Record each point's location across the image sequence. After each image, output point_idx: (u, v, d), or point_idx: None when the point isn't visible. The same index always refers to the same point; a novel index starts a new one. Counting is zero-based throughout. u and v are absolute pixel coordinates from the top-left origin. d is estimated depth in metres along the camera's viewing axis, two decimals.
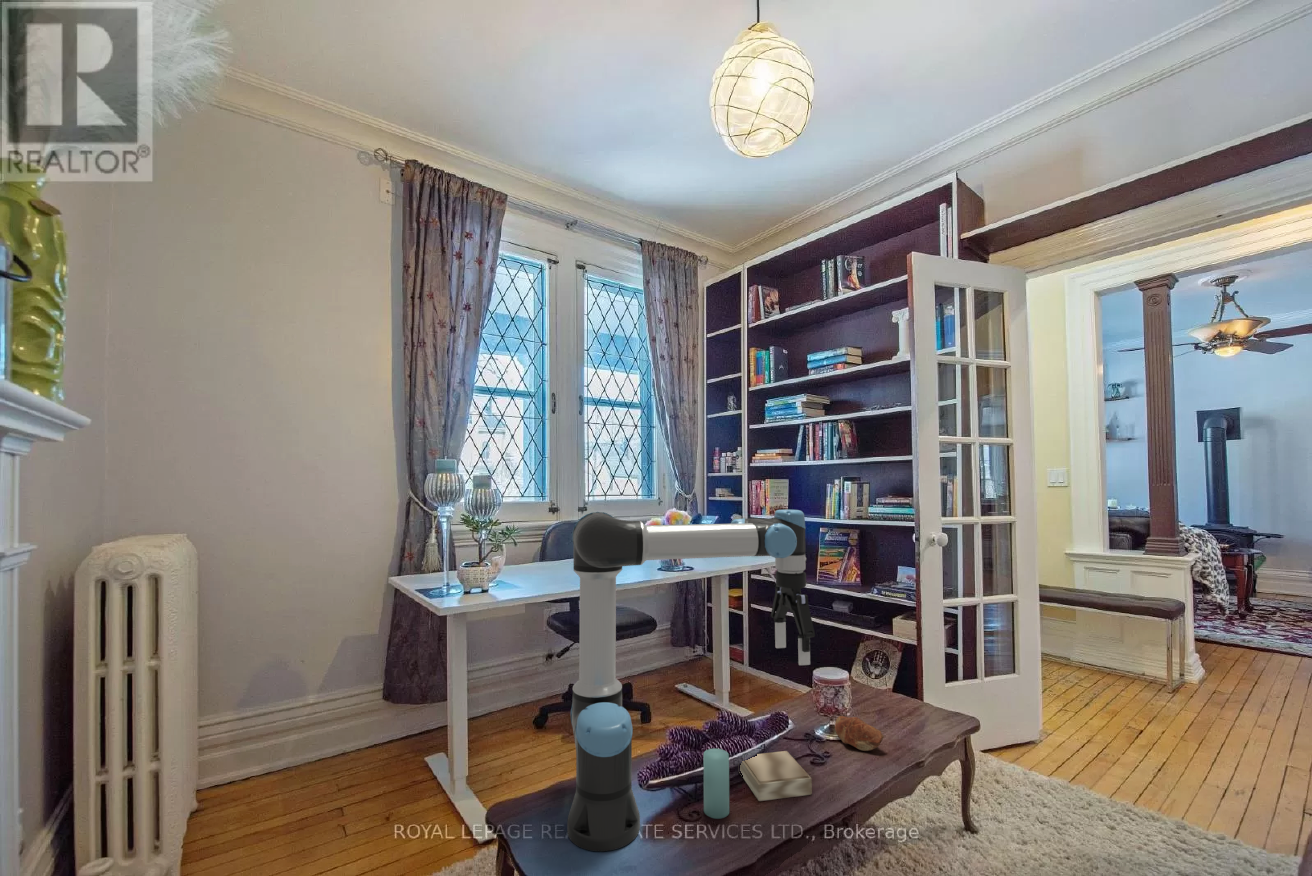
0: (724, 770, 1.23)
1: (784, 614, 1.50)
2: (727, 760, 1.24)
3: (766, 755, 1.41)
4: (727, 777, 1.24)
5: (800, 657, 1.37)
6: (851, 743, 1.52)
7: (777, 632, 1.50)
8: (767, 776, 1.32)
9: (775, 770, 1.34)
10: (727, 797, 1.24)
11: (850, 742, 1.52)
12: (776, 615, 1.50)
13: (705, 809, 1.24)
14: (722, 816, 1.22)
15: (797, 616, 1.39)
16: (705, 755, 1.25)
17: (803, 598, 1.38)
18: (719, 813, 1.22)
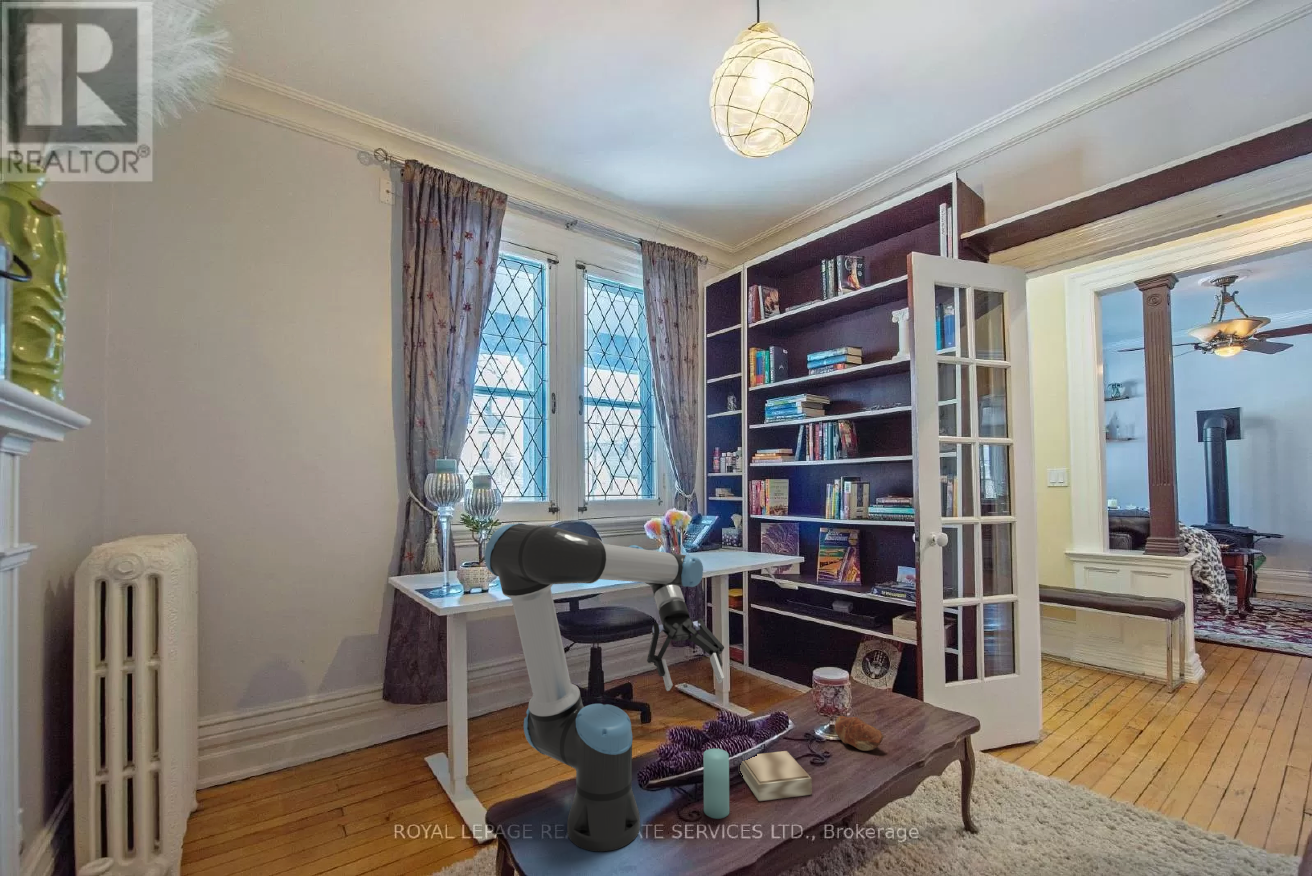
0: (724, 770, 1.23)
1: None
2: (727, 760, 1.24)
3: (766, 755, 1.41)
4: (727, 777, 1.24)
5: None
6: (851, 743, 1.52)
7: None
8: (767, 776, 1.32)
9: (775, 770, 1.34)
10: (727, 797, 1.24)
11: (850, 742, 1.52)
12: (662, 651, 1.39)
13: (705, 809, 1.24)
14: (722, 816, 1.22)
15: None
16: (705, 755, 1.25)
17: None
18: (719, 813, 1.22)
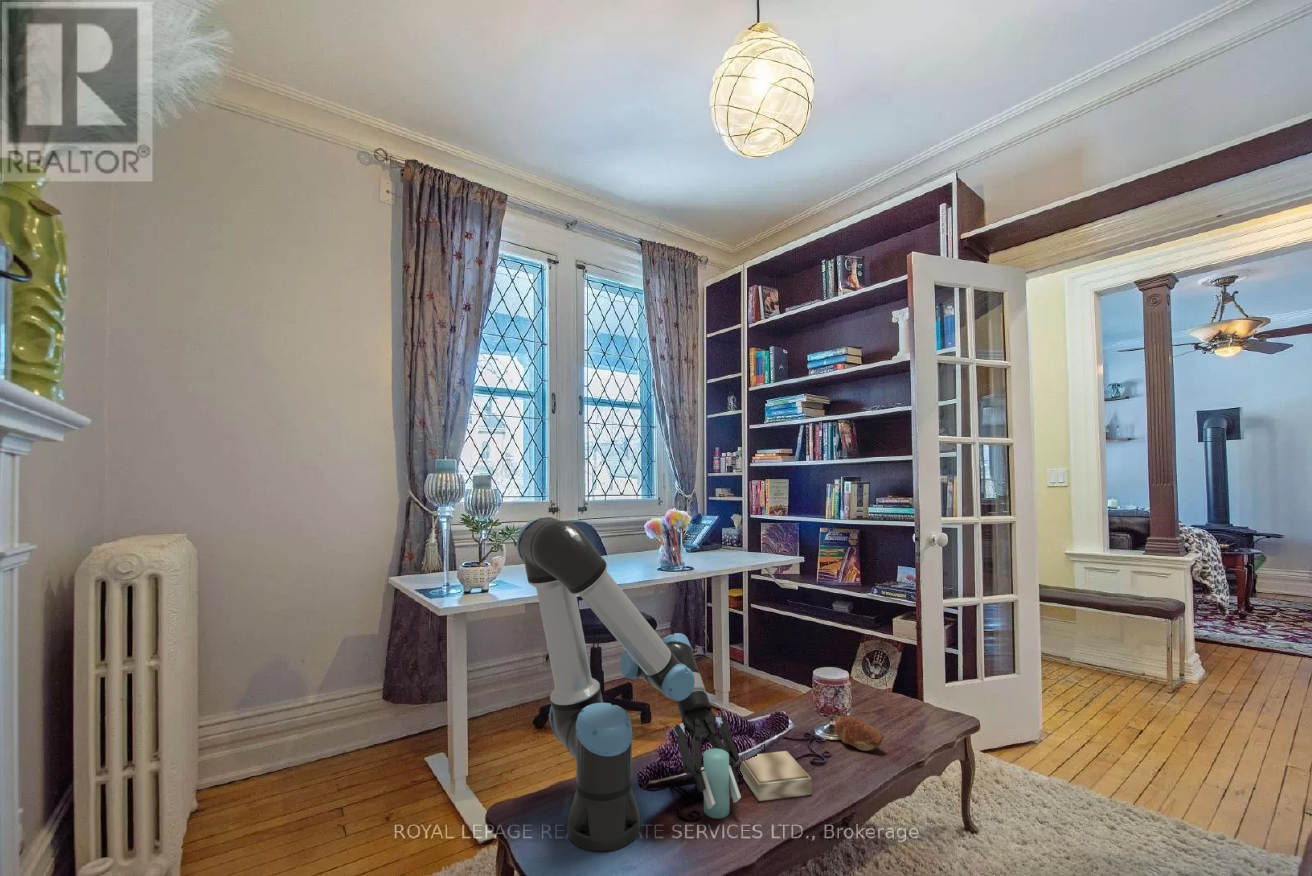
0: (724, 770, 1.23)
1: None
2: (727, 760, 1.24)
3: (766, 755, 1.41)
4: (727, 777, 1.24)
5: None
6: (851, 743, 1.52)
7: None
8: (767, 776, 1.32)
9: (775, 770, 1.34)
10: (727, 797, 1.24)
11: (850, 742, 1.52)
12: (698, 760, 1.26)
13: (705, 809, 1.24)
14: (722, 816, 1.22)
15: None
16: (705, 755, 1.25)
17: None
18: (719, 813, 1.22)
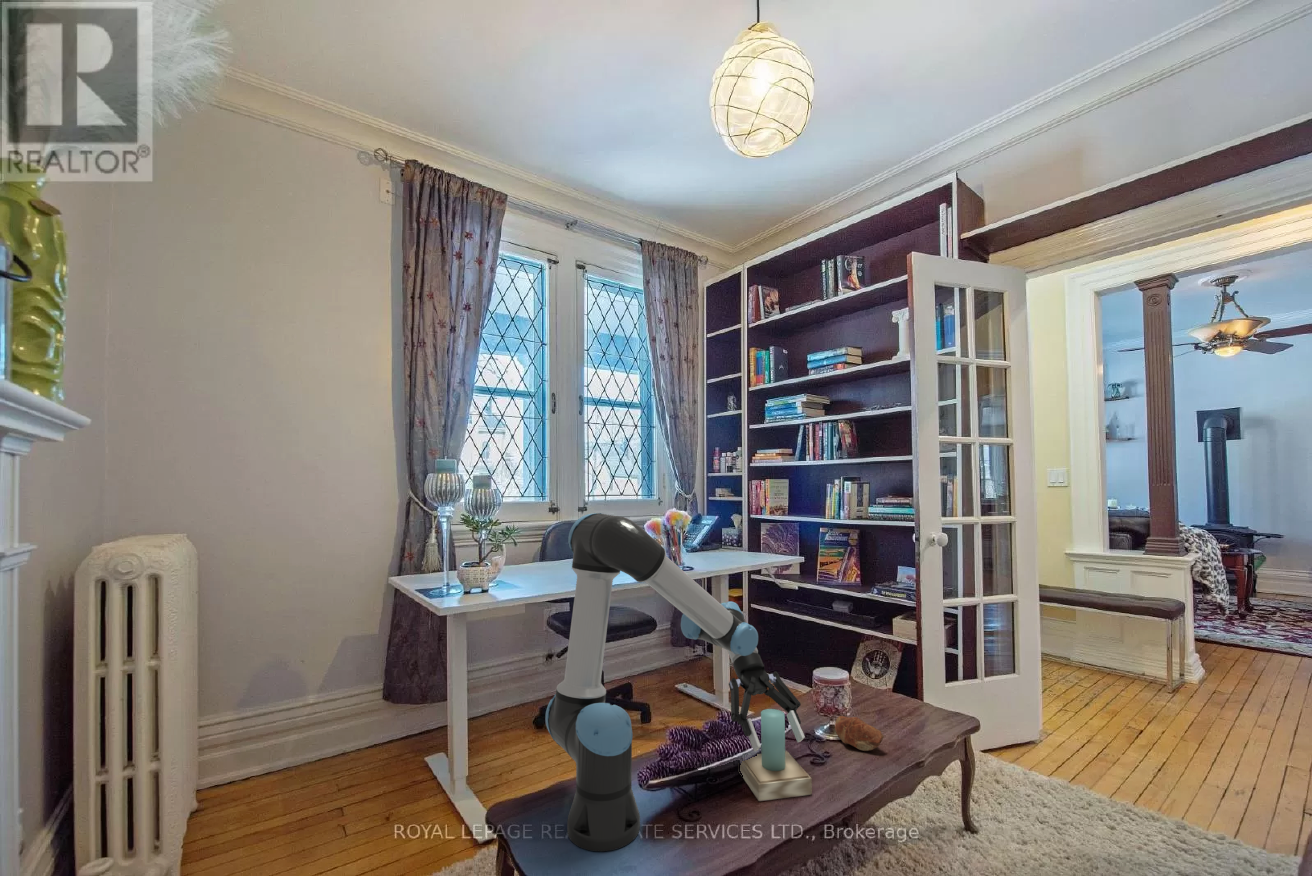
0: (781, 727, 1.35)
1: None
2: (783, 718, 1.36)
3: None
4: (783, 733, 1.36)
5: None
6: (851, 743, 1.52)
7: None
8: (767, 776, 1.32)
9: None
10: (784, 752, 1.35)
11: (850, 742, 1.52)
12: (746, 709, 1.37)
13: (763, 763, 1.35)
14: (780, 769, 1.34)
15: None
16: (763, 714, 1.37)
17: None
18: (777, 766, 1.34)
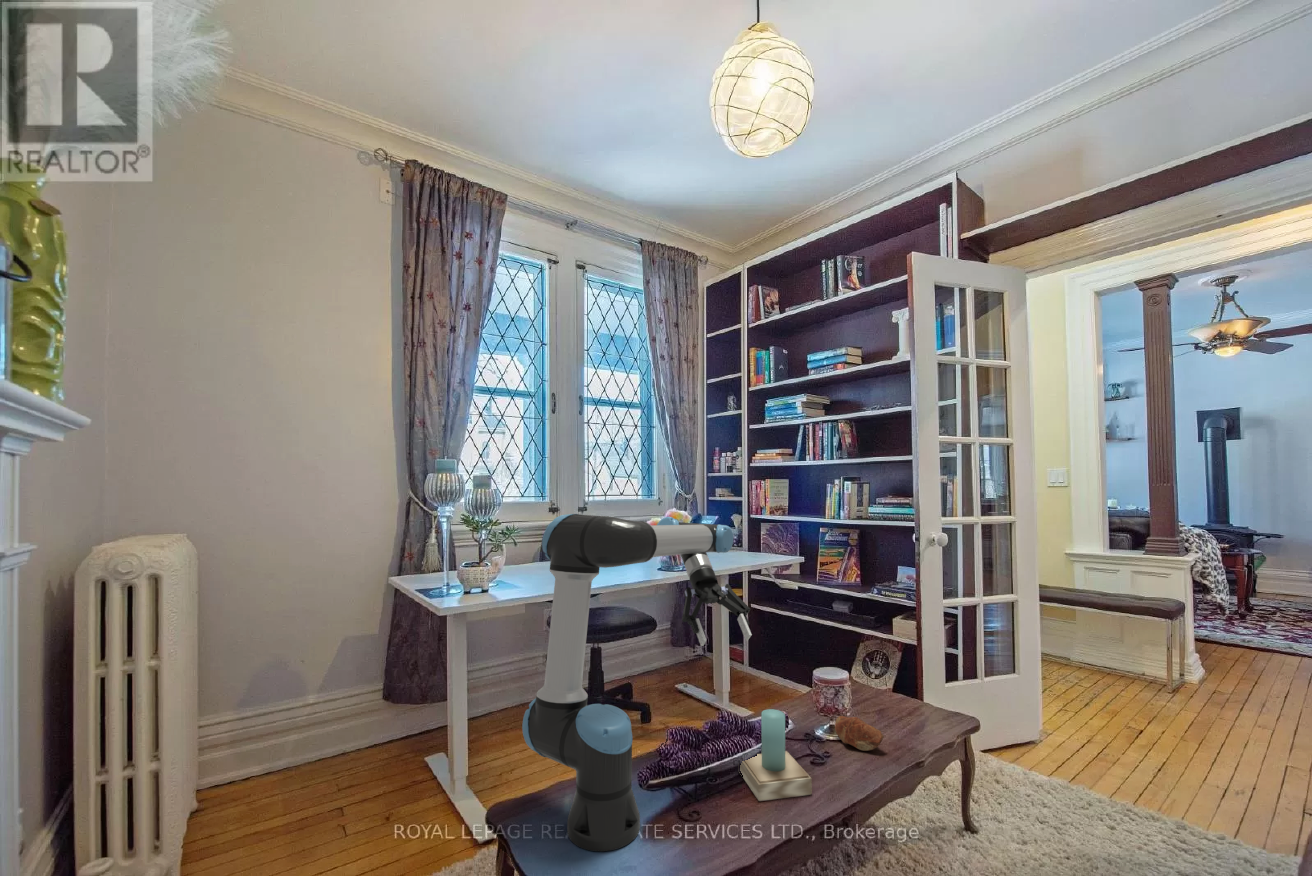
0: (782, 727, 1.35)
1: None
2: (784, 719, 1.36)
3: None
4: (784, 734, 1.35)
5: None
6: (851, 743, 1.52)
7: None
8: (767, 776, 1.32)
9: None
10: (784, 752, 1.35)
11: (850, 742, 1.52)
12: (696, 612, 1.54)
13: (764, 763, 1.35)
14: (780, 769, 1.34)
15: None
16: (763, 715, 1.37)
17: None
18: (777, 766, 1.34)
